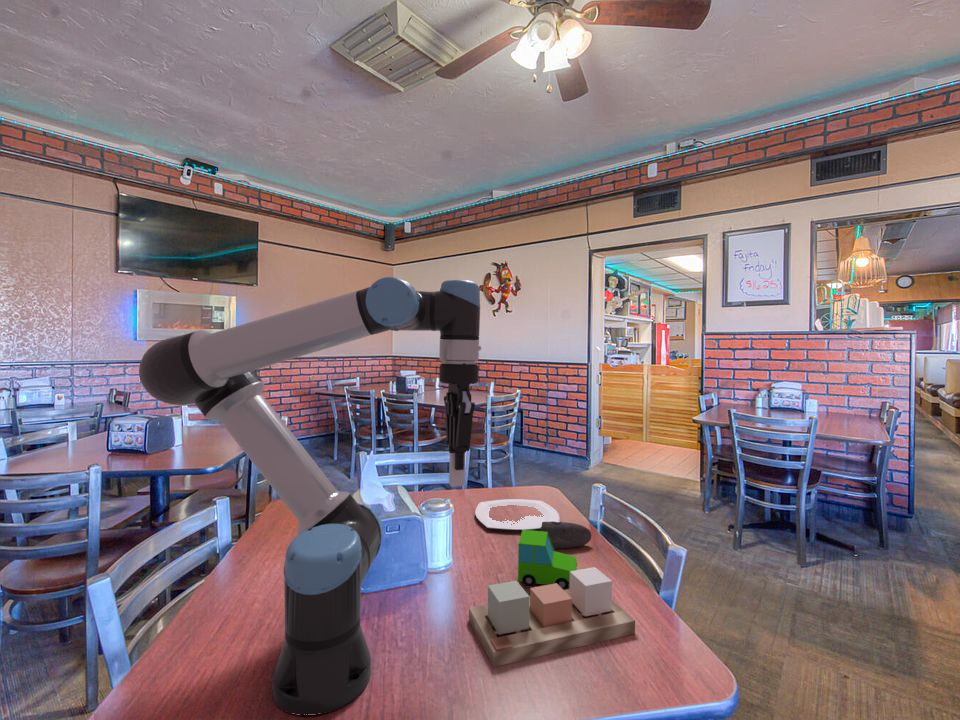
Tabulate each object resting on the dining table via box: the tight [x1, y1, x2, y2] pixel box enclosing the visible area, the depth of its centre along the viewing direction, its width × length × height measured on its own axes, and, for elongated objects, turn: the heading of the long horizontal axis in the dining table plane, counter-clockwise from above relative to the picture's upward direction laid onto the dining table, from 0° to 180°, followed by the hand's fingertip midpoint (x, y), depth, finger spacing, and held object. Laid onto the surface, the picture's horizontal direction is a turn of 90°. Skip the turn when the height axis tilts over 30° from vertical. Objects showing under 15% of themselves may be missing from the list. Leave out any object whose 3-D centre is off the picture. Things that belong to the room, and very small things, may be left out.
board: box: [468, 588, 636, 668], centre depth 88 cm, size 29×14×3 cm, turn 109°
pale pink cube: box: [569, 566, 613, 617], centre depth 91 cm, size 6×6×6 cm
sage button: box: [487, 580, 530, 636], centre depth 85 cm, size 6×6×6 cm
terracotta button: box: [529, 583, 572, 628], centre depth 88 cm, size 6×6×6 cm
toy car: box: [517, 530, 578, 590], centre depth 106 cm, size 10×13×10 cm
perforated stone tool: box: [539, 521, 592, 550], centre depth 124 cm, size 15×5×7 cm, turn 94°
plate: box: [474, 498, 561, 531], centre depth 145 cm, size 27×27×2 cm
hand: (456, 485), depth 86 cm, fingers closed
